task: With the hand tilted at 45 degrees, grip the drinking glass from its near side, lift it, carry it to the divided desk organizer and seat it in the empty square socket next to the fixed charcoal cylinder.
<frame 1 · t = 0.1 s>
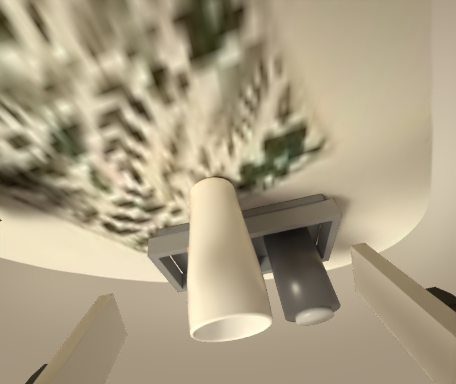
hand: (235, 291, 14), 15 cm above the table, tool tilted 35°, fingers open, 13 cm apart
divided desk organizer: (244, 237, 39), on the table
drinking glass: (212, 189, 30), on the table
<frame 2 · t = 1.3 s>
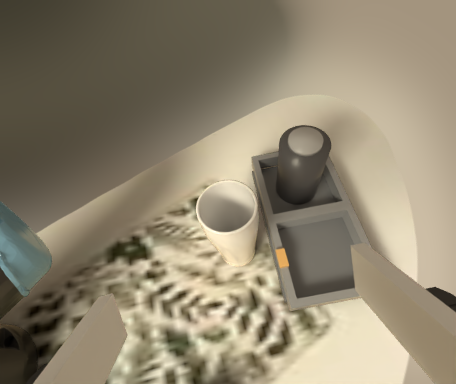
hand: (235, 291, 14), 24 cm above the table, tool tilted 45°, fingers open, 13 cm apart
divided desk organizer: (306, 221, 41), on the table
drinking glass: (238, 250, 40), on the table
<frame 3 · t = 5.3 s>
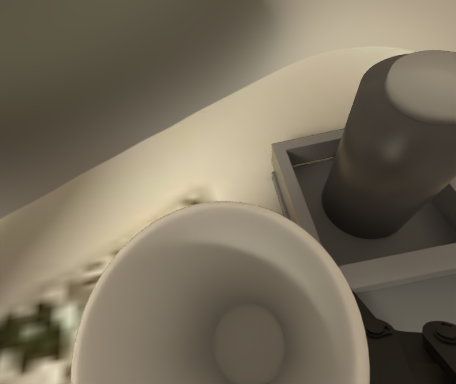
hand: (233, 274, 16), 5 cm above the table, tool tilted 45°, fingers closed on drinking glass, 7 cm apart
divided desk organizer: (393, 276, 19), on the table
drinking glass: (251, 343, 19), on the table, touching gripper
when the fingers open (8 cm above the table, at t = 9.9 s): drinking glass drops 1 cm, resting on divided desk organizer.
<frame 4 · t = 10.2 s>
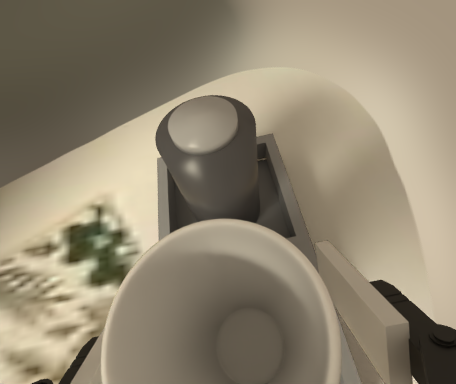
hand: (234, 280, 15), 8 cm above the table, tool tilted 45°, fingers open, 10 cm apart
divided desk organizer: (238, 269, 24), on the table
drinking glass: (251, 345, 20), point 1 cm above the table, touching divided desk organizer
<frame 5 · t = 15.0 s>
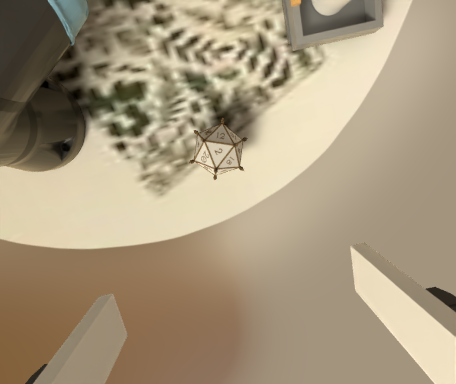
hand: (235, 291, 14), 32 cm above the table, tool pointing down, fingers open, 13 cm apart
game die: (219, 148, 44), on the table
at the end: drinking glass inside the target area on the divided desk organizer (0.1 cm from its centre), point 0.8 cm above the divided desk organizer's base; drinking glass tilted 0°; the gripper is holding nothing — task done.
